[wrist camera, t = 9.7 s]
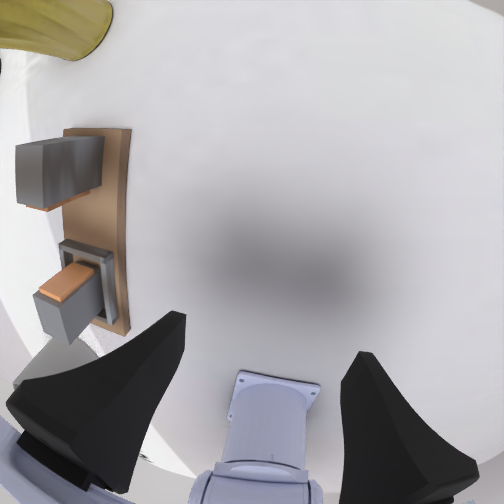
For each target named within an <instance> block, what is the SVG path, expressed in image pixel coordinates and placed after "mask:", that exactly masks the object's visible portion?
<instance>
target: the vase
mask: <svg viewBox="0 0 504 504" xmlns="http://www.w3.org/2000/svg"><path fill="white" fill-rule="evenodd" d="M111 19H112V7H111V5H110V3H109V2H108V1H107V0H0V48H4V49H17V50H24V51H29V52H34V53H40V54H45V55H50V56H56V57H59V58H62V59H64V60H69V61H75V60H78V59H81V58H83V57H84V56H86V55H87V54H89V53H90V52H91V51H92V50H93V49H94V48H95V47H96V46H97V45H98V44H99V43H100V42H101V40H102V39H103V37H104V35H105V34H106V32H107V30H108V28H109V26H110V23H111Z"/></svg>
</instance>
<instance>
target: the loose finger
mask: <svg viewBox="0 0 504 504" xmlns="http://www.w3.org/2000/svg"><path fill="white" fill-rule="evenodd" d="M33 298H34V302H35V305H36V309H37V312H38V315H39V318H40V321H41V324H42V327H43V330H44V332H45V333H47V334H49V335H51V336H52V337H54V338H56V339H58V340H60V341H62V342H64V343H65V344H67V345H69V346H70V345H71V344H72V343H73V341H74V340H75V339H76V338H77V337H78V336H79V335H80V334H81V332H82V331H83V330H84V329H85V328H86V327H87V326H88V325H89V323H90V322H91V321H92V320H93V319H94V318H95V317H96V316H97V315H98V314H99V313H100V311H101V310H102V309H103V308H104V307H105V301H104V294H103V285H102V276H101V268H100V267H97V266H93V265H90V264H87V263H84V262H81V261H78V260H77V261H76V262H75V263H74V262H72V263H71V264H69V265H68V266H67V267H65V268H64V269H62V270H61V271H60V272H58V273H57V274H56V275H55V276H53V277H52V278H51V279H49V280H48V281H47V282H45V283H44V284H43V285H42V286H40V287H39V290H38V291H37V292H36V293H35V294H33Z"/></svg>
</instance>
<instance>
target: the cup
mask: <svg viewBox="0 0 504 504" xmlns="http://www.w3.org/2000/svg"><path fill="white" fill-rule="evenodd" d="M98 358H99V357H98V356H97V354H96V353H95V352H94V351H93V350H92V349H91V348H90V347H89V346H88V345H87V344H86V343H85V342H84V341H82V340H81V339H79V338H78V337H77V338H76V339H75V340H74V341H73V343H72V344H71V345H70V346H69V345H67V344H65V343H64V342H62V341H60V340H58V339H56V338H54V337H53V338H52V339H51V340H50V341H49V342H48V343H47V344H46V345H45V346H44V348H43V349H42V350H41V351H40V352H39V353H38V354H37V355H36V356H35V357H34V359H33V360H32V361H31V362H30V363H29V364H28V365H27V367H26V368H25V369H24V370H23V371H22V372H21V374H20V375H19V376H18V377H17V378H16V380H15V381H14V382H13V387H14V390H16V388H17V387H18V386H19V385H20V383H21V382H22V381H23V380H26V379H33V378H39V377H45V376H49V375H54V374H57V373H61V372H65V371H68V370H71V369H74V368H77V367H79V366H82V365H85V364H87V363H89V362H92V361H94V360H96V359H98Z"/></svg>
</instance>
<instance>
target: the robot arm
mask: <svg viewBox="0 0 504 504" xmlns="http://www.w3.org/2000/svg"><path fill="white" fill-rule="evenodd" d="M185 327H186V314H183V313H179V312H176V311H170V312H169V313H167V314H166V315H165V316H164V317H162V318H161V319H160V320H158V321H157V322H156V323H154V324H153V325H152V326H150V327H149V328H148V329H146V330H145V331H143V332H142V333H141V334H139V335H138V336H136V337H135V338H133V339H132V340H130V341H129V342H127V343H125V344H124V345H122V346H121V347H119V348H117V349H116V350H114V351H112V352H110V353H108V354H107V355H105V356H103V357H101V358H98V359H96V360H94V361H92V362H89V363H87V364H85V365H82V366H79V367H77V368H74V369H71V370H68V371H65V372H61V373H57V374H54V375H49V376H45V377H39V378H33V379H26V380H23V381H22V382H21V383H20V385H19V386H18V387H17V388H16V390H15V391H14V392H13V394H12V395H11V396H10V397H9V398H8V400H7V401H6V406H7V408H8V410H9V411H10V413H11V414H12V415H13V417H14V418H15V419H16V420H17V422H18V423H19V424H20V425H21V426H22V427H23V429H25V430H24V432H23V433H22V435H21V434H20V433H19V432H18V431H17V430H16V429H15V428H14V427H13V426H12V425H10V424H9V423H8V422H7V421H6V420H5V419H4V418H2V417H1V416H0V485H1V486H2V487H3V488H4V489H5V490H6V491H7V492H8V493H9V494H10V495H11V496H12V497H13V498H14V499H15V500H16V501H17V502H18V503H19V504H135V503H132V502H130V501H128V500H125V499H123V498H121V497H118V496H116V495H114V494H112V493H110V492H108V491H106V490H105V489H107V490H109V491H111V492H116V493H118V494H124V493H127V492H128V490H129V486H130V482H131V478H132V475H133V471H134V467H135V465H136V461H137V458H138V455H139V452H140V449H141V446H142V443H143V440H144V438H145V435H146V432H147V429H148V427H149V424H150V422H151V419H152V417H153V414H154V412H155V410H156V408H157V406H158V404H159V402H160V401H161V399H162V397H163V395H164V393H165V391H166V389H167V387H168V386H169V384H170V382H171V380H172V378H173V376H174V374H175V372H176V370H177V368H178V365H179V363H180V360H181V358H182V355H183V352H184V348H185ZM319 392H320V386H319V385H314V384H307V383H301V382H295V381H289V380H283V379H278V378H272V377H267V376H262V375H257V374H253V373H248V372H243V371H242V372H239V373H238V376H237V380H236V384H235V388H234V392H233V396H232V400H231V404H230V408H229V412H228V416H227V420H228V421H229V422H230V426H229V430H228V434H227V438H226V442H225V447H224V451H223V455H222V459H221V463H220V462H216V464H215V467H214V471H210V470H207V471H205V472H204V473H202V474H201V475H199V476H198V477H197V478H196V480H195V482H194V484H193V487H192V489H191V492H190V496H189V500H188V504H323V491H322V488H321V486H320V485H319V484H318V483H317V482H316V481H315V480H308V470H304V465H305V440H306V413H307V411H308V410H309V408H310V406H311V405H312V403H313V402H314V400H315V398H316V397H317V395H318V393H319ZM340 405H341V415H342V425H343V436H344V470H343V479H342V488H341V494H340V500H339V504H452V503H453V502H454V498H453V496H454V495H456V494H457V493H459V492H461V491H462V490H464V489H466V488H467V487H469V486H470V485H472V484H473V483H474V482H476V481H477V480H478V479H479V471H478V467H477V463H476V460H474V459H472V458H471V457H469V456H467V455H465V454H464V453H462V452H460V451H459V450H457V449H456V448H455V447H453V446H452V445H450V444H449V443H448V442H446V441H445V440H444V439H443V438H441V437H440V436H439V435H438V434H437V433H436V432H435V431H434V430H432V429H431V428H430V427H429V426H428V425H427V424H426V423H425V422H424V421H423V419H422V418H421V417H420V416H419V415H418V414H417V413H416V412H415V411H414V409H413V408H412V407H411V406H410V405H409V403H408V402H407V401H406V400H405V398H404V397H403V396H402V394H401V393H400V392H399V390H398V389H397V387H396V386H395V385H394V383H393V382H392V380H391V379H390V377H389V376H388V375H387V373H386V372H385V370H384V369H383V367H382V366H381V364H380V363H379V362H378V360H377V359H376V357H375V356H374V355H373V353H370V352H363V351H359V352H358V354H357V356H356V358H355V359H354V361H353V363H352V365H351V366H350V368H349V370H348V371H347V373H346V375H345V376H344V378H343V379H342V381H341V393H340ZM464 504H475V503H474V500H471V501H469V502H466V503H464Z"/></svg>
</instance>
